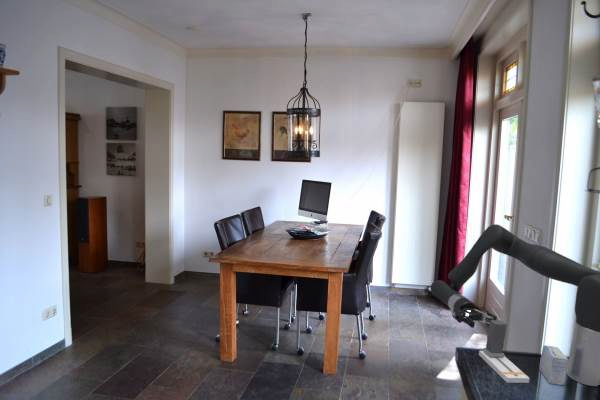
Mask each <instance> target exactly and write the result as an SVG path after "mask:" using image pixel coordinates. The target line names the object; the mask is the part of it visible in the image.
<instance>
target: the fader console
mask: <svg viewBox="0 0 600 400" xmlns="http://www.w3.org/2000/svg"><path fill="white" fill-rule="evenodd" d="M478 356H479V357H480V358H482V360H483V361H484V362H485V363H486V364H487V365H488V366H490V368H492V370H494V372H495V373H497V375H499V377H501V378H502V380H504V381H505V383H508V384H510V383H511V384H512V383H515V384H519V383H520V384H530V377H529V376H528V375H527V374H526V373H525V372H523V371H522V370H521V369H520V368H519V367H517V366H516V365H515V364H514V363H513V362H512V361H511V360H509V358H507V356H505V355H504V357H489V356H488V355H487V354H486V353H485V352H484V351H483V350H479V351H478Z"/></svg>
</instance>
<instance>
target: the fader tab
mask: <svg viewBox="0 0 600 400" xmlns="http://www.w3.org/2000/svg"><path fill="white" fill-rule="evenodd" d="M507 325H508V324H507V323H505V322H504V321H503V320H499V319H498V320H490V324H489V325H488V331H487V338H486V344H485V347H483V349H482V351H484V352H485V353H486V354H487V355H488V356H489V357H504V356H505V353H504V352H503V351H504V350H503V349H504V345H505V338H506V332H507Z"/></svg>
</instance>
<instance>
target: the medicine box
mask: <svg viewBox="0 0 600 400" xmlns="http://www.w3.org/2000/svg"><path fill="white" fill-rule="evenodd" d="M542 346H543V347H542V350H541V356H540V362H539V371H540V373H541V374H542V376H543V377H544V378H545V379H546V381H547V383H548V384H553V385H559V386H564V385H565V383H566V381H565V380H566V375H567V373H566V372H567V366H568V360H569V358H568V357H567V356H566V355H565V353H563V352H562V350H561V348H559V347H557V346H553V345H552V346H551V345H542Z"/></svg>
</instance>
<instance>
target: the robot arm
mask: <svg viewBox="0 0 600 400" xmlns="http://www.w3.org/2000/svg"><path fill="white" fill-rule="evenodd" d="M490 249H493V251H494V250H495V251H496V252H498V253H500V254H503V255H505V256H509V257H511V258H514V259H515V260H518V261H519V262H521V263H522V264H523V265H524V266H525V267H527V268H529V270H532V271H534V272H536V273H537V274H539V275H542V276H543V277H545V278H548V279H550V280H555V281H558V282H561V283H565V284H570V285H573V286H576V287H577V288H576V295H575V303H574V314H575V317H576V318H575V322H574V327H573V334H572V339H571V344H570V346H571V347H570V351H569V356H568V364H567V370H566V375H567V376H568V377H569V378H570V379H571V380H574V381H576V382H578V383H580V384H583V385H585V386H589V387H590V386H591V387H599V386H598V385H600V270H596V269H594V268H590V267H588V266H586V265H584V264H581V263H580V262H577V261H576V260H573V259H571V258H569V257H567V256H564V255H563V254H560V253H559V252H557V251H554V250H553V249H550V248H548V247H545V246H543V245H540V244H533V243H529V242H526V241H525V240H523V239H522V238H520V237H518V236H517V235H515V234H514V233H513V232H511V231H510V230H508V229H506V228H505V227H503V226H501V225H500V224H491V225H490V226H487V227H486V228H485V230H483V232H481V235H480V236H479V237H478V238H477V240H476V241H475V243H474V244H473V246H472V247H471V248H470V249H469V251H468V252H467V254H466V255H465V256H464V257H463V258H462V259H461V260H460V261H459V263H457V265H456V266H455V267H454V268H453V269H452V270H450V272H449V273H448V275H447V277H448V279H449V281H450V282H451V285H450V284H448V283H446V282H445V281H444V280H442V279H441V280H440V279H437V280H434V281H433V282H432V283H431V285H430V292H431V294H432V295H433V296H434V297H436V298H437V299H439V300H440V301H441V302H442V303H444V304H445V305H446V307H448V308H449V309H450V310H451V312H452V318H453V319H455V320H456V321H457V322H458V324H459V323H460V324H461V323H462V322H463V324H465V325H467V326H468V327H470V328H471V329H472V328H473V329H474V328H475V322H479V323H482V324H490V320H497V319H498V317H497V315H495V314H493V313H492V312H490V310H485V311H484V312H483V311H481V310H479V309H478V306H477V305H476V304H475V303H474V302H473V301H471V300H470V299H469V298H467V296H465V295H462V293H460V291H461V290H462V287H463V286H464V285H465V283H467V282H468V281H469V280H470V279H471V278H472V277H473V276H474V275H475V273H476V272H477V270H478V267H479V264H480V262H481V259H482V258H483V256H484V254H485V253H486V252H488V251H489V250H490Z"/></svg>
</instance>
